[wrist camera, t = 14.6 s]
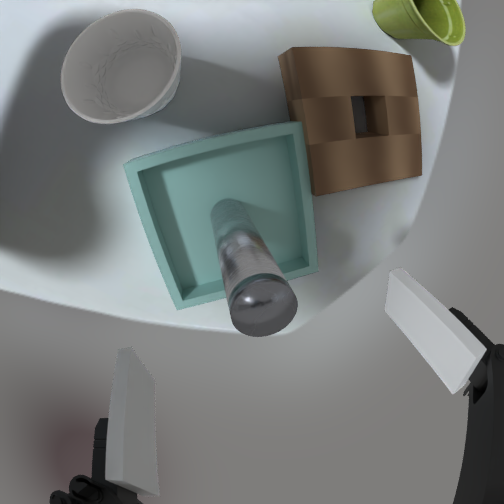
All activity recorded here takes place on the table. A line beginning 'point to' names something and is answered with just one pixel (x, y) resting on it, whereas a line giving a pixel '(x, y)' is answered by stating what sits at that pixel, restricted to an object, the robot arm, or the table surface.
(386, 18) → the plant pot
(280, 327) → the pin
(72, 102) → the white cup
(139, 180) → the tray
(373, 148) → the socket block
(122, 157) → the table surface
